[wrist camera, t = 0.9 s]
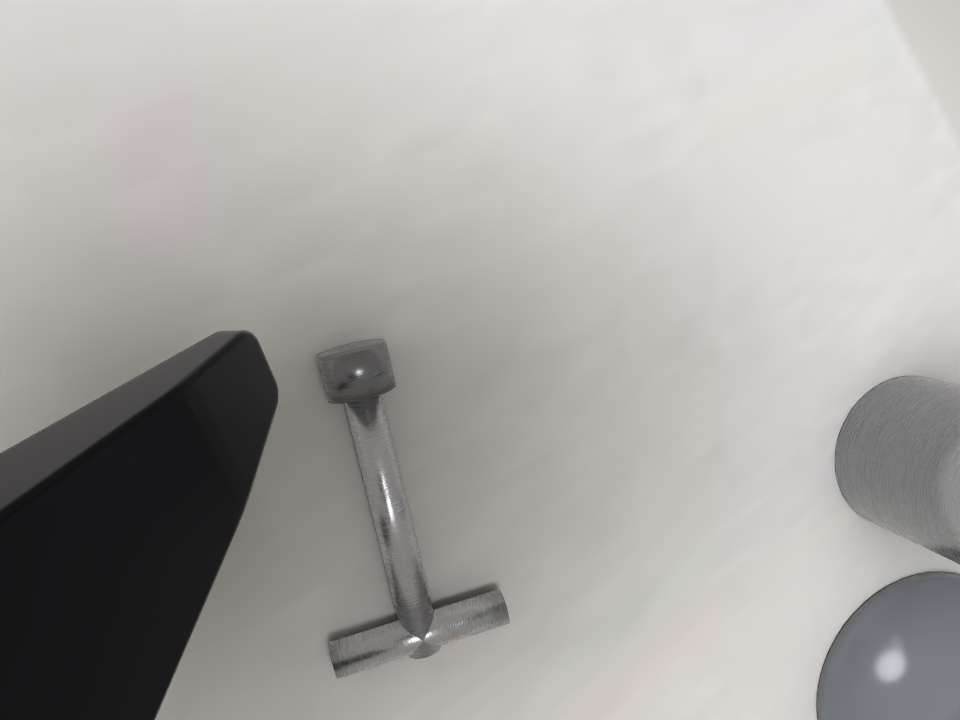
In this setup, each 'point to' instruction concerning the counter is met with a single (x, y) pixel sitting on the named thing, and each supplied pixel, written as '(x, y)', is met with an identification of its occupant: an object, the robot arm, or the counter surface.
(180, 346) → the counter surface
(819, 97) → the counter surface
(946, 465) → the grey cylindrical piece
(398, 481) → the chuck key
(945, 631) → the coaster
